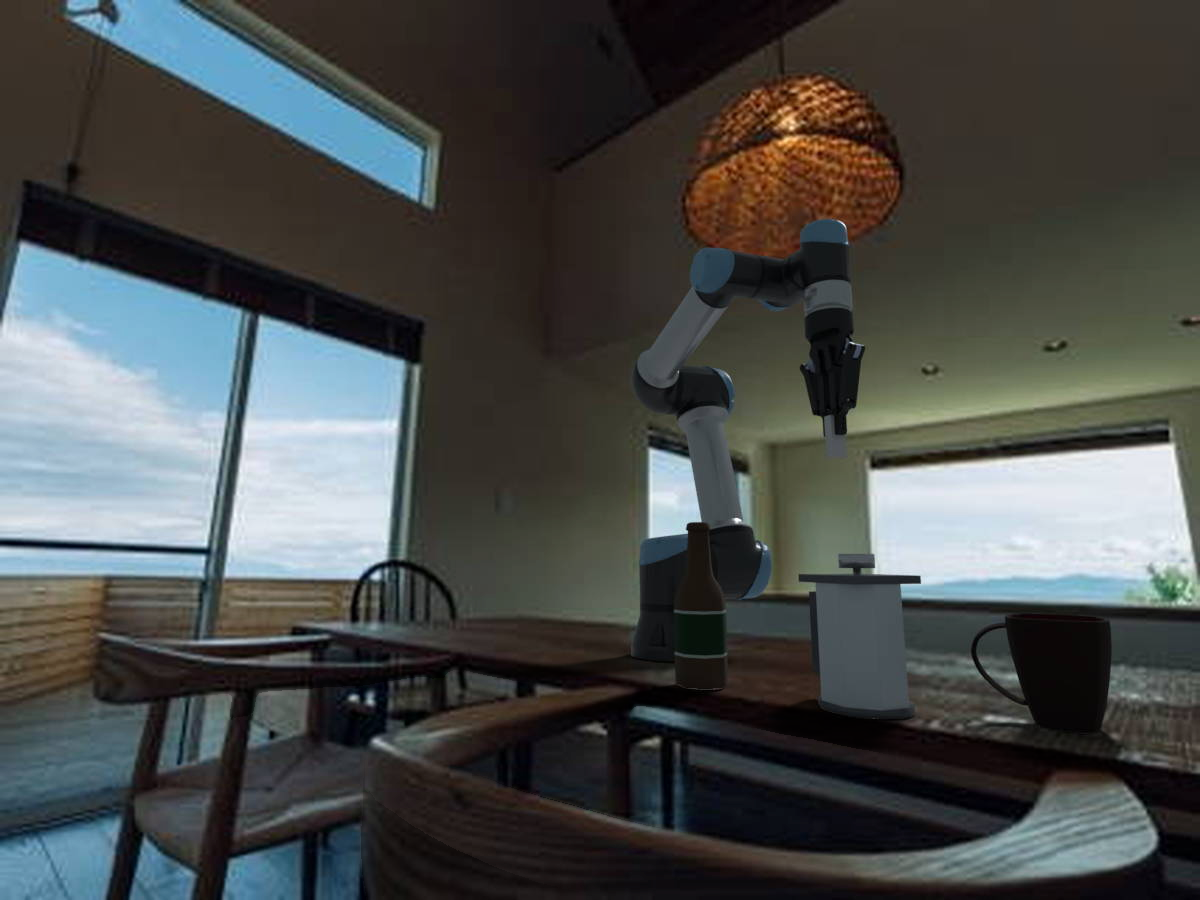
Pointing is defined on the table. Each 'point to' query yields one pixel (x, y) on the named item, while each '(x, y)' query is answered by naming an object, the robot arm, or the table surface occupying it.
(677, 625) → the beer bottle
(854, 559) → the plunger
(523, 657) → the table surface
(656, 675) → the table surface
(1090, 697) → the cup
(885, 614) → the grey capped canister
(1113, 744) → the table surface
